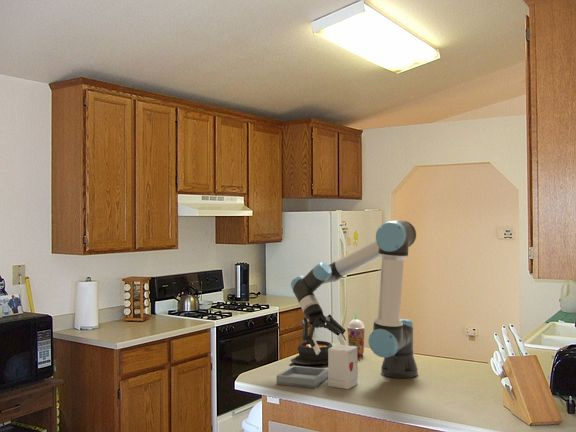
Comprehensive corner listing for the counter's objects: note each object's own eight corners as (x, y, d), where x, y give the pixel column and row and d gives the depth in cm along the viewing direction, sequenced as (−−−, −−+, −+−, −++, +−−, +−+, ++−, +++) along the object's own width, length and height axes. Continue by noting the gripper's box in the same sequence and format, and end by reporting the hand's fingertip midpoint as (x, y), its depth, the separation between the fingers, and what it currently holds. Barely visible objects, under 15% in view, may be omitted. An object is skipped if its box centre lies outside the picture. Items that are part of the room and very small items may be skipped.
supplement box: (348, 389, 228) (347, 351, 228) (327, 386, 233) (327, 348, 233) (358, 383, 236) (358, 346, 236) (338, 380, 241) (337, 343, 241)
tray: (329, 377, 246) (329, 369, 246) (315, 388, 231) (315, 379, 231) (292, 373, 252) (292, 365, 252) (276, 384, 237) (276, 375, 237)
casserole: (310, 371, 256) (309, 351, 256) (281, 363, 270) (281, 345, 270) (349, 360, 273) (348, 342, 273) (320, 354, 287) (320, 336, 287)
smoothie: (347, 357, 279) (346, 314, 279) (348, 353, 287) (347, 311, 287) (365, 357, 278) (364, 315, 277) (365, 353, 286) (365, 312, 286)
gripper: (331, 310, 261) (353, 351, 248) (283, 316, 248) (303, 360, 235) (338, 300, 256) (360, 341, 244) (289, 305, 243) (310, 349, 231)
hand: (332, 350), depth 239 cm, fingers open, 13 cm apart
